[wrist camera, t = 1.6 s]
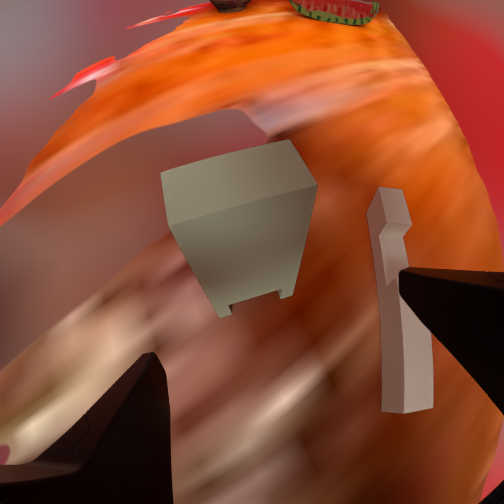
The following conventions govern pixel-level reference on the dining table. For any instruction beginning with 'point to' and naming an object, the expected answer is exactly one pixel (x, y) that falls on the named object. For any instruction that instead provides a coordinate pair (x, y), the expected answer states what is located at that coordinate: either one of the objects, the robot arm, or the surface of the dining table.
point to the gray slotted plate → (242, 220)
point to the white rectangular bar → (398, 310)
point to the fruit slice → (337, 10)
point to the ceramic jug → (230, 5)
